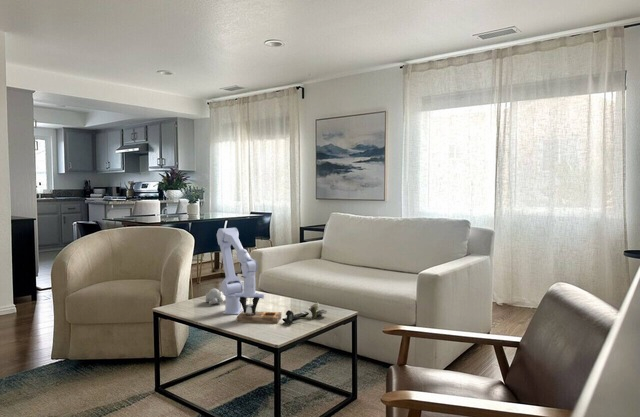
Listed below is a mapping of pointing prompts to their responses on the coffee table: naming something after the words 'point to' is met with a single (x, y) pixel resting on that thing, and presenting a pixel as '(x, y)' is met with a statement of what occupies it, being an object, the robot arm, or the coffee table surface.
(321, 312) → the artificial flower
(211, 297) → the round bodied animal figurine
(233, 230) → the robot arm
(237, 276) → the ink cartridge box
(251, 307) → the steel peg
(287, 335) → the coffee table surface
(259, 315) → the wooden board with recesses
